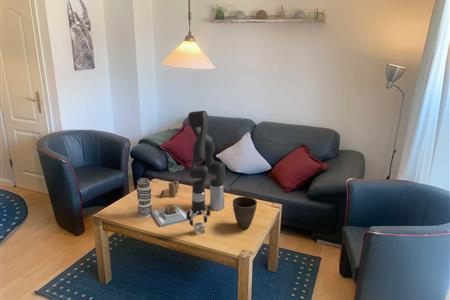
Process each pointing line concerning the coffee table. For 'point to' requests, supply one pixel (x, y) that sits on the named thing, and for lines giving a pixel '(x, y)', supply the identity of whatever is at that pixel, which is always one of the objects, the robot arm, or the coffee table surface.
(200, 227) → the block
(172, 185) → the wooden block set
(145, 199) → the grey stacked tower
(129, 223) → the coffee table surface
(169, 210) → the block
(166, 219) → the jig
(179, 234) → the coffee table surface
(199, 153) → the robot arm
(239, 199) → the plant pot
